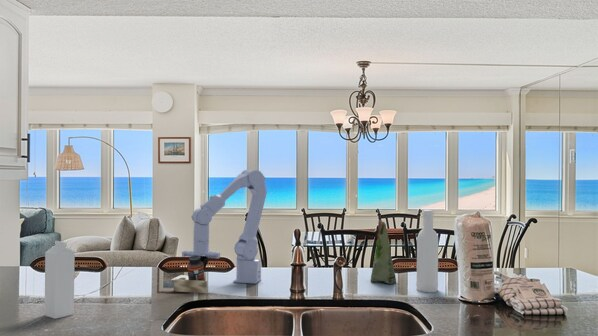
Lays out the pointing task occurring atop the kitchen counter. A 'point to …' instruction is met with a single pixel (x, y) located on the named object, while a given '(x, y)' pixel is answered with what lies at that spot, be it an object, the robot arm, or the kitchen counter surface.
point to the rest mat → (181, 277)
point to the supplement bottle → (195, 269)
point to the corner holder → (190, 285)
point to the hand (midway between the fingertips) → (200, 276)
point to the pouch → (383, 258)
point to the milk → (59, 281)
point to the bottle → (427, 255)
